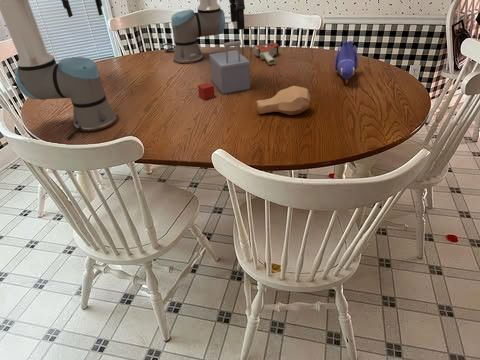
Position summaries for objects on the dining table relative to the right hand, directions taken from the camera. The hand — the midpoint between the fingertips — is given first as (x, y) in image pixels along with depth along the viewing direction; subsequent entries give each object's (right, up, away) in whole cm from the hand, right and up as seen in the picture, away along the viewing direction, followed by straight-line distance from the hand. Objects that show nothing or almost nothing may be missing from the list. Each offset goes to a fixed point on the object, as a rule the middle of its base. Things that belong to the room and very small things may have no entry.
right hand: (237, 25), depth 139 cm
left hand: (-67, +12, +18) cm, 71 cm away
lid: (-4, -10, +11) cm, 15 cm away
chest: (-3, -18, +18) cm, 26 cm away
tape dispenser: (+15, +2, +45) cm, 47 cm away
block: (-13, -26, +9) cm, 30 cm away
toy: (+47, -16, +17) cm, 53 cm away
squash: (+17, -35, -7) cm, 40 cm away
